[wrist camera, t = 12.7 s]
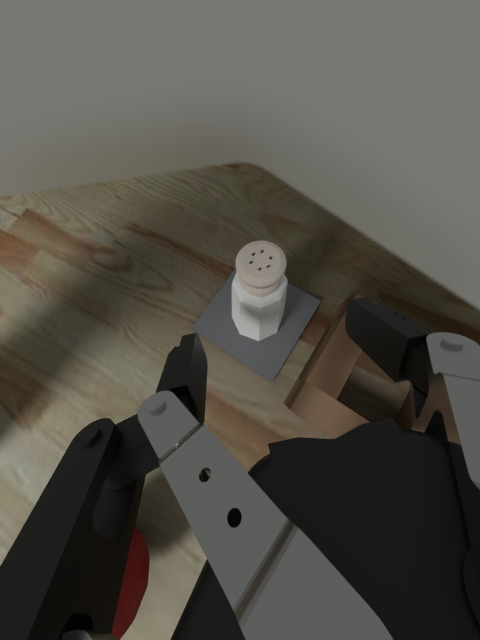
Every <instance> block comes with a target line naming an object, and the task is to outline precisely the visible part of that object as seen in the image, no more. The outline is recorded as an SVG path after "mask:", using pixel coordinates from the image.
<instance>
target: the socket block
mask: <svg viewBox="0 0 480 640" xmlns="http://www.w3.org/2000/svg"><path fill="white" fill-rule="evenodd" d="M362 297H365V296H363V295H361V294H359V293H355V294H354V295H353V296H351V297H350V298H349V299H348V300H346V301H345V302H344V303H342V304H341V305H340V307H339V309H338V310H337V312H336V314H335V315H334V317H333V319H332V321H331V322H330V324H329V326H328V328H327V329H326V331H325V333H324V334H323V336H322V338H321V340H320V341H319V343H318V345H317V346H316V348H315V350H314V352H313V353H312V355H311V357H310V359H309V360H308V362H307V364H306V365H305V367H304V369H303V371H302V372H301V374H300V376H299V378H298V379H297V381H296V383H295V384H294V386H293V388H292V390H291V391H290V393H289V395H288V397H287V398H286V400H285V402H284V404H285V405H286V406H287V407H288V408H289V409H290V410H291V411H293V412H294V413H295V414H297V415H298V416H300V417H301V418H303V419H304V420H306V421H307V422H308V423H310V424H311V425H313V426H314V427H316V428H317V429H319V430H320V431H321V432H323V433H324V434H326V435H327V436H329V437H330V438H332V439H335V438H338V437H339V436H341V435H343V434H345V433H346V432H348V431H350V430H352V429H354V428H355V427H357V426H359V425H361V424H364V423H369V421H368V420H366V419H365V418H363V417H362V416H360V415H359V414H357V413H355V412H354V411H352V410H351V409H349V408H348V407H346V406H345V405H343V404H342V403H340V402H339V401H337V398H338V396H339V394H340V392H341V390H342V388H343V387H344V385H345V383H346V381H347V379H348V377H349V375H350V373H351V371H352V370H353V368H354V366H355V364H356V362H357V360H358V358H359V356H360V354H361V353H362V351H363V350H362V349H361V348H360V347H359V346H358V345H357V344H356V343H355V342H354V341H353V340H352V339H351V338H350V337H349V336H348V334H347V332H346V329H345V321H346V310H347V303H348V301H349V300H353V299H357V298H362ZM373 302H374V301H373ZM375 303H376V302H375ZM377 304H378V303H377ZM430 332H431V331H430ZM432 333H433V332H432ZM396 423H397V425H398V426H399V427H400V428H405V429H412V414H411V403H410V392H409V394H408V396H407V398H406V400H405V402H404V405H403V407H402V409H401V411H400V413H399V415H398V418H397V420H396Z"/></svg>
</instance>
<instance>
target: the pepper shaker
mask: <svg viewBox="0 0 480 640" xmlns="http://www.w3.org/2000/svg"><path fill="white" fill-rule="evenodd" d="M235 266H236V271H237V272H236V275H235V277H234V279H233V282H232V318H233V320H234V323H235V325H236V327H237V329H238V331H239V333H240V335H243V336H246V337H249V338H252V339H254V340H257V341H260V340H262V339H264V338H267V337H269V336H271V335H273V334H275V333H277V331H278V328H279V326H280V323H281V320H282V317H283V313H284V306H285V299H286V292H287V285H288V280H287V278H286V276H285V275H284V273H285V270H286V266H287V260H286V256H285V254H284V252H283V251H282V249H281V248H280V247H279V246H277V245H276V244H274V243H272V242H268V241H254V242H251V243H249V244H247V245H245V246H244V247H243V248H242V249H241V250H240V251H239V253H238V255H237V257H236V262H235Z"/></svg>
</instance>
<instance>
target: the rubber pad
mask: <svg viewBox="0 0 480 640" xmlns="http://www.w3.org/2000/svg"><path fill="white" fill-rule="evenodd" d="M236 272H237V271H236V268H235V269H234V271H233V272H232V273H231V275H230V276H229V278H228V279H227V280H226V282H225V283H224V284H223V286H222V287H221V289H220V290H219V291H218V293H217V294H216V295H215V297H214V298H213V300H212V301H211V302H210V304H209V305H208V307H207V308H206V309H205V311H204V312H203V313H202V315H201V316H200V318H199V319H198V320H197V322H196V323H195V324H194V326H193V327H192V329H193V330H195V331H196V332H198V333H199V334H201V335H202V336H204V337H205V338H206V339H208V340H209V341H211V342H212V343H214V344H215V345H217V346H218V347H220V348H221V349H223V350H224V351H226V352H227V353H229V354H230V355H232V356H233V357H235V358H236V359H238V360H239V361H240V362H242V363H243V364H245V365H246V366H248V367H249V368H251V369H252V370H254V371H255V372H257V373H258V374H260V375H261V376H263V377H264V378H266V379H267V380H269V381H270V382H273V380H274V378H275V377H276V375H277V373H278V372H279V370H280V368H281V367H282V365H283V363H284V362H285V360H286V359H287V357H288V355H289V354H290V352H291V350H292V349H293V347H294V345H295V344H296V342H297V340H298V339H299V337H300V335H301V334H302V332H303V330H304V329H305V327H306V325H307V324H308V322H309V320H310V319H311V317H312V315H313V314H314V312H315V310H316V309H317V307H318V306H319V304H320V302H321V301H320V300H318V299H317V298H315V297H313V296H311V295H309V294H308V293H306V292H304V291H302V290H300V289H299V288H297V287H295V286H293V285H291V284H290V283H288V285H287V292H286V299H285V306H284V313H283V317H282V320H281V323H280V326H279V328H278V331H277V333H275V334H273V335H271V336H269V337H267V338H264V339H262V340H260V341H257V340H254V339H252V338H249V337H246V336H243V335H240V333H239V331H238V329H237V327H236V325H235V323H234V320H233V318H232V282H233V279H234V277H235V275H236Z"/></svg>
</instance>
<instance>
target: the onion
mask: <svg viewBox="0 0 480 640" xmlns="http://www.w3.org/2000/svg"><path fill="white" fill-rule="evenodd" d="M149 560H150V559H149V553H148V547H147V543H146V541H145V539H144V537H143V535H142V533H141V532H140V531H139V530H138V529H136V528H135V527H134V532H133V536H132V541H131V545H130V550H129V555H128V559H127V564H126V568H125V573H124V578H123V582H122V587H121V591H120V596H119V601H118V605H117V610H116V615H115V619H114V624H113V628H112V633H111V635H113V636H114V637H115V638H116V639H117V640H120V639H121V637H122V636H123V635H124V634H125V632H126V631H127V630H128V628H129V627H130V625H131V623H132V622H133V620H134V619H135V617H136V614H137V611H138V609H139V606H140V604H141V601H142V598H143V596H144V593H145V591H146V588H147V585H148V574H149Z"/></svg>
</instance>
